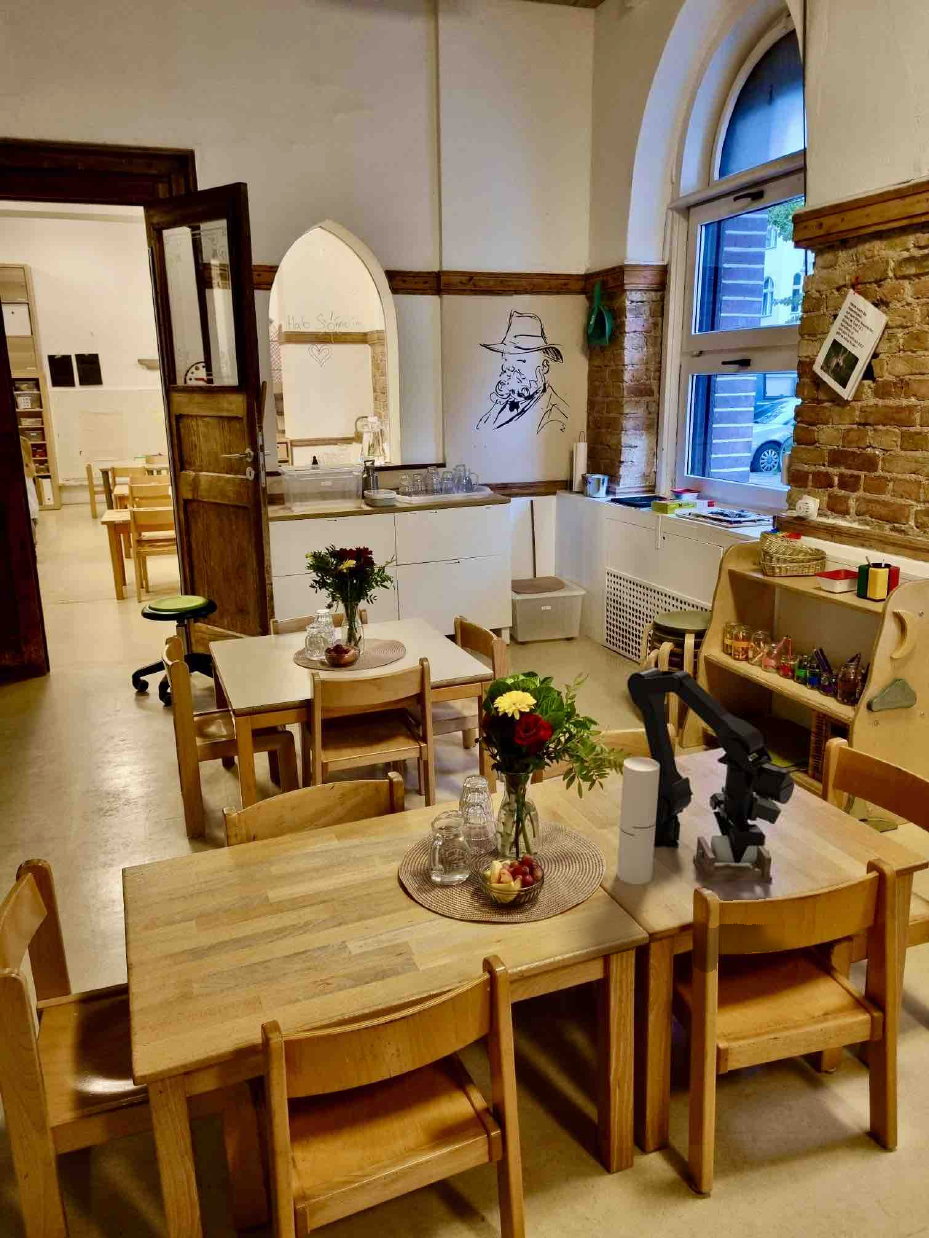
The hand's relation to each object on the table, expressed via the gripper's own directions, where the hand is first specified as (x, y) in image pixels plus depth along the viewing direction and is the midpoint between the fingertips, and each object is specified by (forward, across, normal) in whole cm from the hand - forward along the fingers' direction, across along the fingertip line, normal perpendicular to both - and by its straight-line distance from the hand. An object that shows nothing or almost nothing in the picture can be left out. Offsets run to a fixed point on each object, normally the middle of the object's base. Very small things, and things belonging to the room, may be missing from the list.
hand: (732, 855), depth 192 cm
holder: (+3, 0, 0) cm, 3 cm away
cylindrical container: (+4, -2, +21) cm, 21 cm away
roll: (+1, 0, 0) cm, 1 cm away
